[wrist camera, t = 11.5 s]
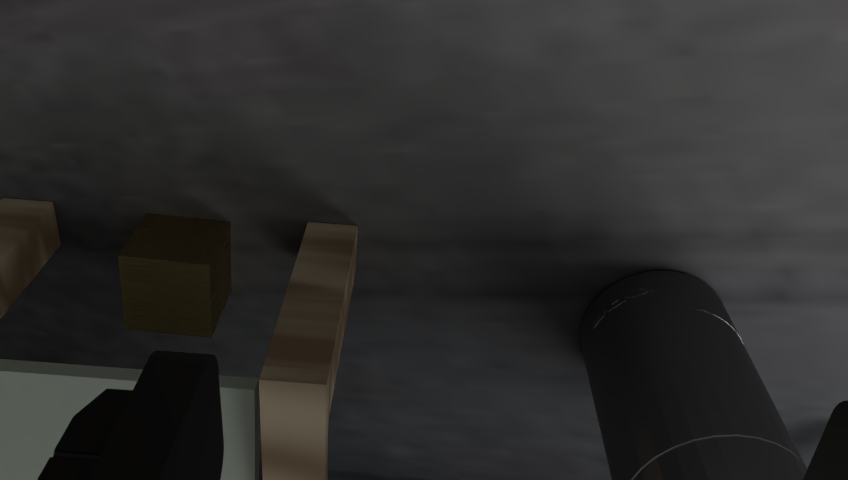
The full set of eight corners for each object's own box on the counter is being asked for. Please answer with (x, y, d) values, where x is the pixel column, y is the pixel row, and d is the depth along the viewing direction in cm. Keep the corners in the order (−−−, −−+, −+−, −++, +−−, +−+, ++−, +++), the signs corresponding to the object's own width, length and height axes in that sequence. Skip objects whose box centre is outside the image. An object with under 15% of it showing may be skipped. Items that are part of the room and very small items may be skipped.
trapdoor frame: (346, 521, 61) (320, 714, 49) (67, 501, 61) (-31, 690, 49) (357, 225, 48) (326, 384, 36) (2, 197, 48) (-155, 348, 36)
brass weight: (231, 289, 51) (230, 221, 49) (211, 337, 47) (209, 265, 44) (152, 281, 51) (147, 212, 48) (124, 328, 47) (117, 255, 44)
